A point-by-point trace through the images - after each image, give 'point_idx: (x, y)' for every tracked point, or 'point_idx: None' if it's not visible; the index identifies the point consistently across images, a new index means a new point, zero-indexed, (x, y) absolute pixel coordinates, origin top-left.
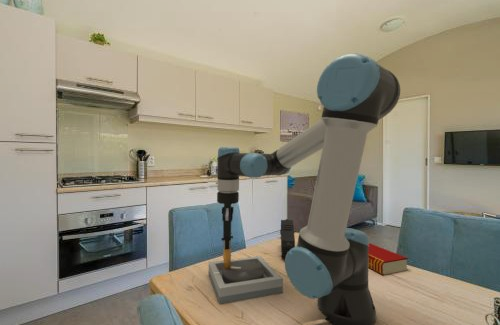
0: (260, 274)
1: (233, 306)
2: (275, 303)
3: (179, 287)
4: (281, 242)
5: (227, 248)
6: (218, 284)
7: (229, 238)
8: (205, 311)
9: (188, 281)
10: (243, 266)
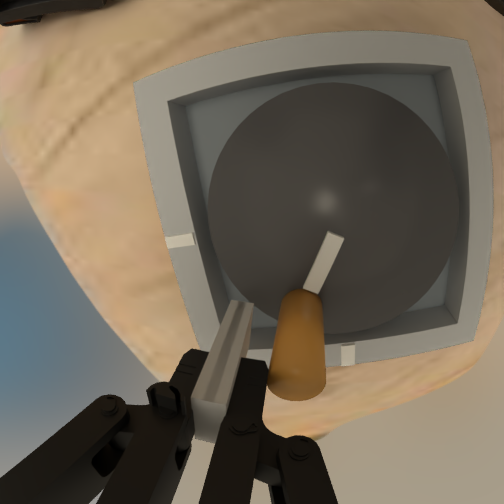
0: (430, 130)
1: None
2: (496, 120)
3: (305, 409)
4: (37, 2)
5: (266, 379)
6: (447, 345)
7: (319, 464)
8: (463, 343)
9: (269, 391)
10: (304, 209)
